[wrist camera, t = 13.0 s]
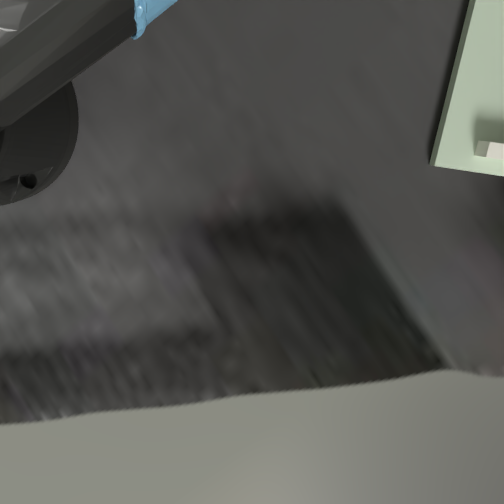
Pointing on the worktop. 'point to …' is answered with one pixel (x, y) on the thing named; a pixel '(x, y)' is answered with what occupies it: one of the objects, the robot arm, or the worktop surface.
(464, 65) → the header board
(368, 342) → the worktop surface
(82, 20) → the robot arm
